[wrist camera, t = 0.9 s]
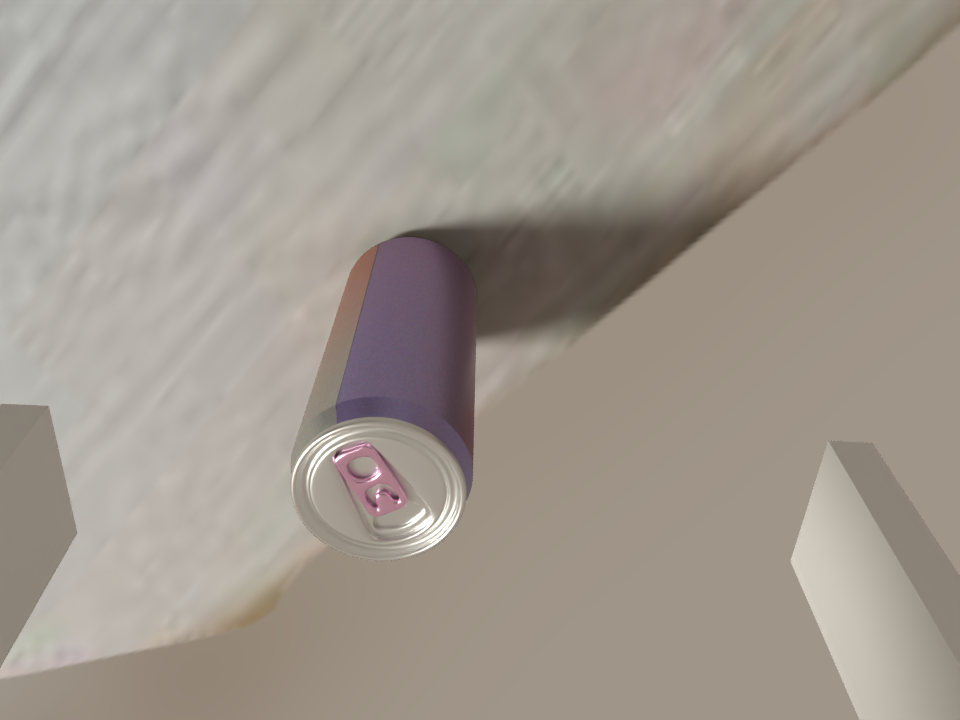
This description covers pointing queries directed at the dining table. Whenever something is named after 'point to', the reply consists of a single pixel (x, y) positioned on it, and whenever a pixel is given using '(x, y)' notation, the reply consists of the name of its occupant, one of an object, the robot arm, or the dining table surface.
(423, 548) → the beverage can
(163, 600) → the dining table surface
